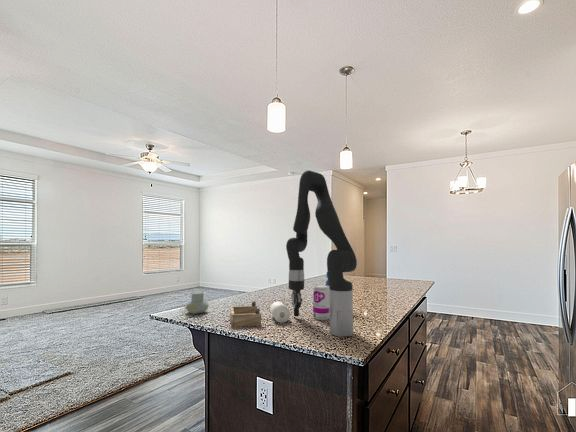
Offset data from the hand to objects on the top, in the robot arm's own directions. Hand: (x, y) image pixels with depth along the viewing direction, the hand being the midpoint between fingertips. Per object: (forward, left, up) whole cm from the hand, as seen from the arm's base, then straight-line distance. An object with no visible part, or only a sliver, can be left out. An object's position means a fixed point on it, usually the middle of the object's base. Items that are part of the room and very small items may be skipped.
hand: (296, 316), depth 149 cm
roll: (0, +8, +2) cm, 8 cm away
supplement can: (-2, -12, -1) cm, 12 cm away
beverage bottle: (+15, -24, -1) cm, 28 cm away
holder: (0, +24, -1) cm, 24 cm away
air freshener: (+22, +47, -1) cm, 52 cm away
